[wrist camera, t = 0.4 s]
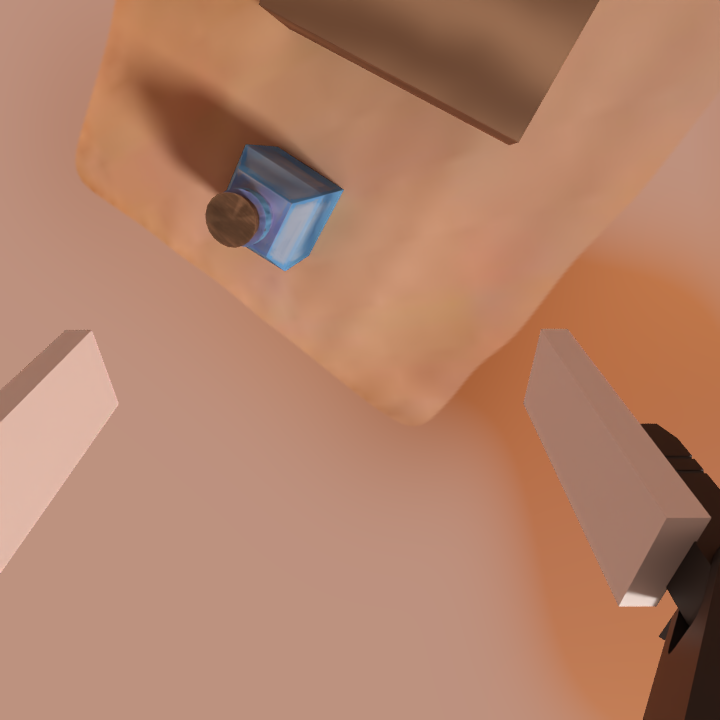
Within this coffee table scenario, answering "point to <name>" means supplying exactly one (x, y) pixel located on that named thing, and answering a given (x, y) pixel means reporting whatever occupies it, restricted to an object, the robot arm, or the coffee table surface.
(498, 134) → the walnut riser block
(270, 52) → the coffee table surface
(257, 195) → the perfume bottle
